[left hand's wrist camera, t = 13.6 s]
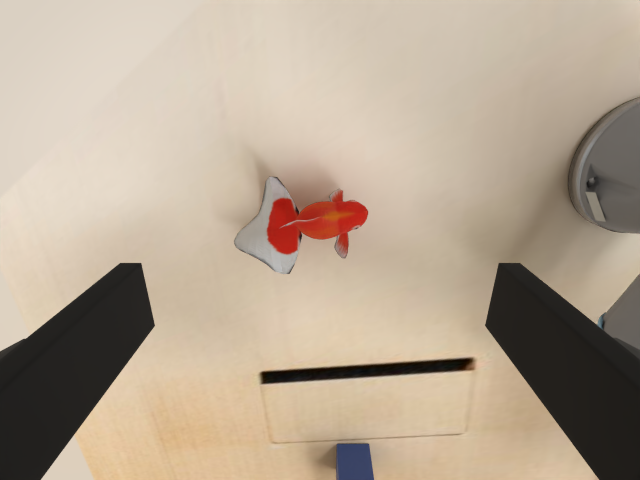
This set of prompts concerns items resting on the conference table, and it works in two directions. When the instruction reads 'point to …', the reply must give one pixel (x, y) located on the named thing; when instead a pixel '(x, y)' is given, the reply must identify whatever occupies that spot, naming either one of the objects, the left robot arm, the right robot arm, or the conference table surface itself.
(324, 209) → the fish
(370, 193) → the conference table surface
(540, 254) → the conference table surface
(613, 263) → the conference table surface
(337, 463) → the block
